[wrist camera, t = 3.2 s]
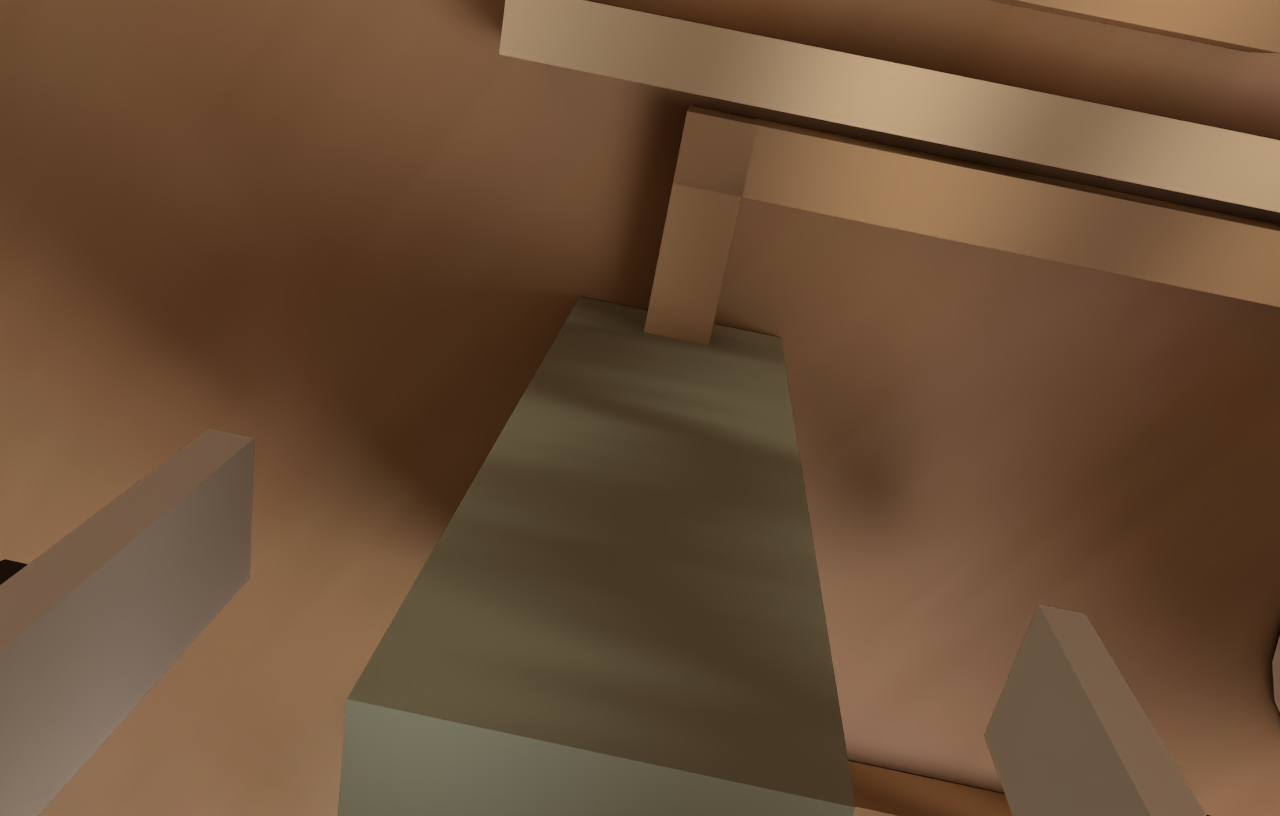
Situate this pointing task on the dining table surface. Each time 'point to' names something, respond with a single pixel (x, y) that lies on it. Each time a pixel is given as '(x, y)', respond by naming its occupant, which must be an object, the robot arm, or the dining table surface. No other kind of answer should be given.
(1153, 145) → the lane rails
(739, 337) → the rail with green post
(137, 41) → the dining table surface
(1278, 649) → the cup
